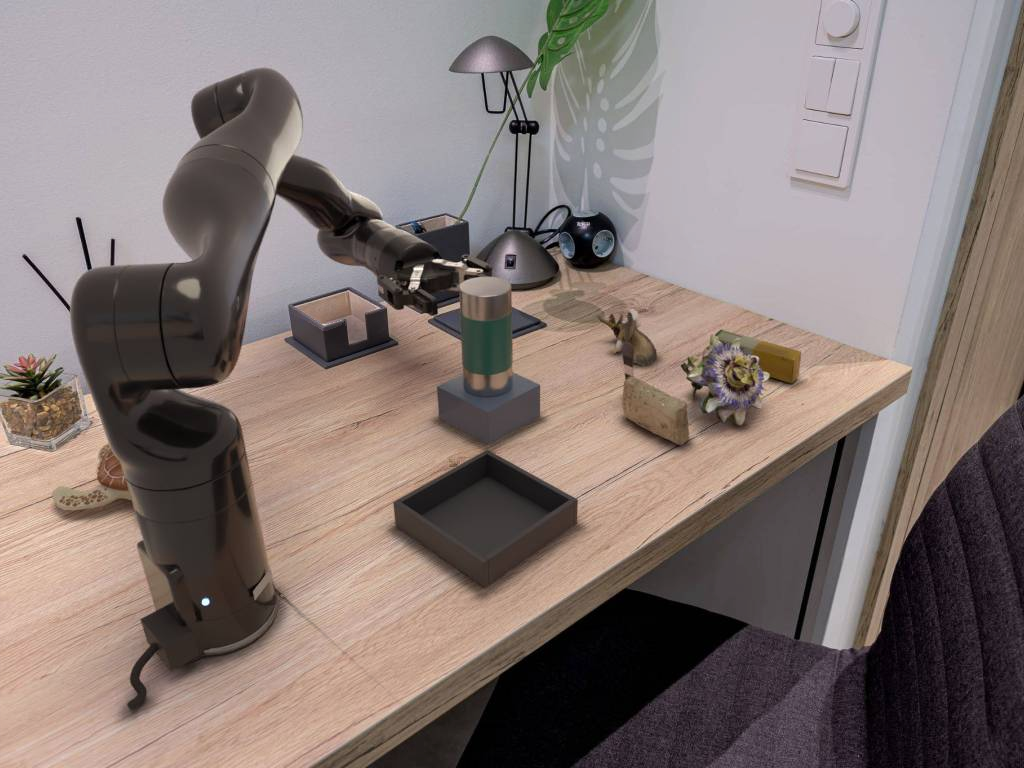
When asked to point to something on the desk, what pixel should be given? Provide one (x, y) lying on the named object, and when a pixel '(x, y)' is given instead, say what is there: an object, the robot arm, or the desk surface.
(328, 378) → the desk surface
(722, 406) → the passion flower
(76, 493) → the decorative turtle
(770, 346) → the medication box
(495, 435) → the stand
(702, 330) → the desk surface
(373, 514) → the desk surface
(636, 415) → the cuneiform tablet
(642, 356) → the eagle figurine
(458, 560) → the tray
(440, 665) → the desk surface
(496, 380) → the can
